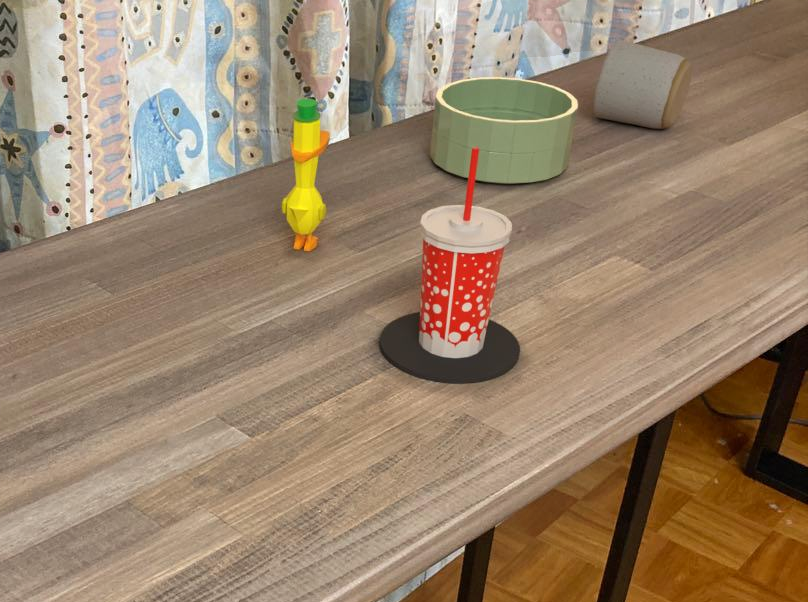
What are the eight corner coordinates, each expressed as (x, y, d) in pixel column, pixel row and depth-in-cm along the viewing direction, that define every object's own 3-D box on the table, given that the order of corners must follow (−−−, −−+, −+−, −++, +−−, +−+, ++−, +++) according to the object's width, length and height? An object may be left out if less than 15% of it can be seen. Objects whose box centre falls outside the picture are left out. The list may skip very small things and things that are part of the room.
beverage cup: (502, 330, 82) (532, 138, 73) (483, 370, 78) (513, 171, 69) (420, 315, 84) (441, 126, 75) (397, 353, 79) (416, 156, 71)
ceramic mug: (664, 140, 115) (683, 61, 110) (586, 125, 118) (601, 48, 113) (690, 113, 122) (709, 37, 117) (616, 99, 125) (631, 26, 120)
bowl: (566, 143, 114) (577, 82, 110) (567, 193, 104) (579, 127, 100) (435, 133, 116) (441, 72, 112) (424, 180, 106) (430, 116, 102)
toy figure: (299, 225, 97) (304, 82, 90) (338, 232, 96) (346, 88, 89) (272, 257, 92) (274, 108, 85) (313, 264, 91) (319, 114, 84)
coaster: (520, 322, 84) (521, 317, 84) (517, 391, 76) (518, 386, 76) (387, 308, 85) (388, 304, 85) (371, 374, 78) (371, 369, 78)
